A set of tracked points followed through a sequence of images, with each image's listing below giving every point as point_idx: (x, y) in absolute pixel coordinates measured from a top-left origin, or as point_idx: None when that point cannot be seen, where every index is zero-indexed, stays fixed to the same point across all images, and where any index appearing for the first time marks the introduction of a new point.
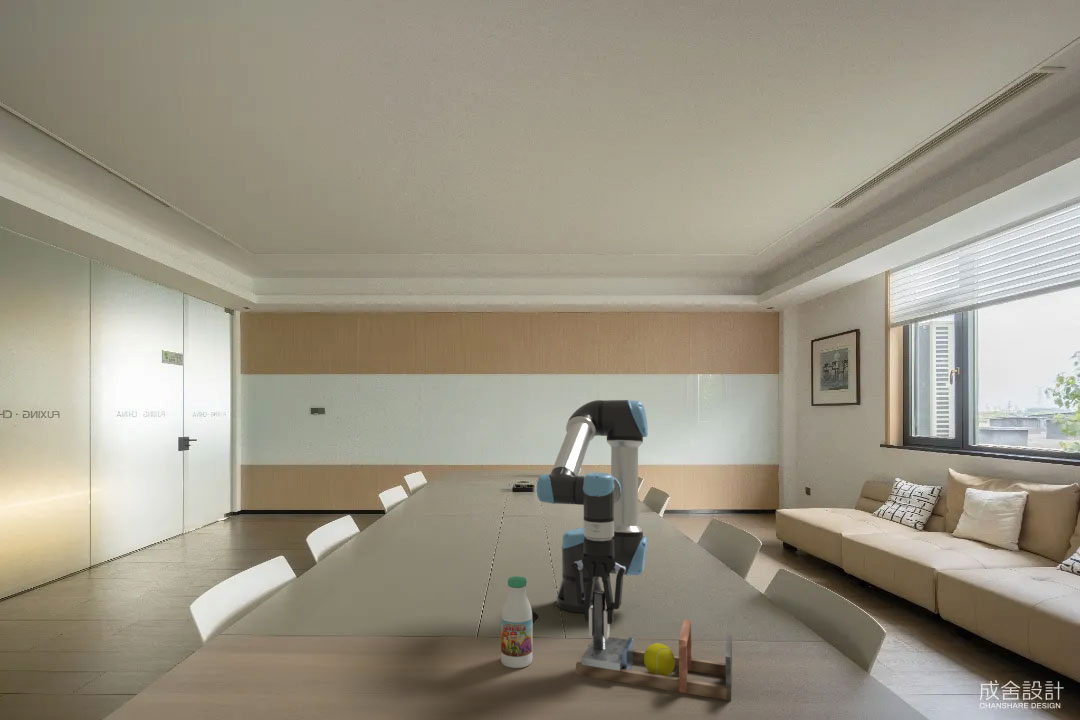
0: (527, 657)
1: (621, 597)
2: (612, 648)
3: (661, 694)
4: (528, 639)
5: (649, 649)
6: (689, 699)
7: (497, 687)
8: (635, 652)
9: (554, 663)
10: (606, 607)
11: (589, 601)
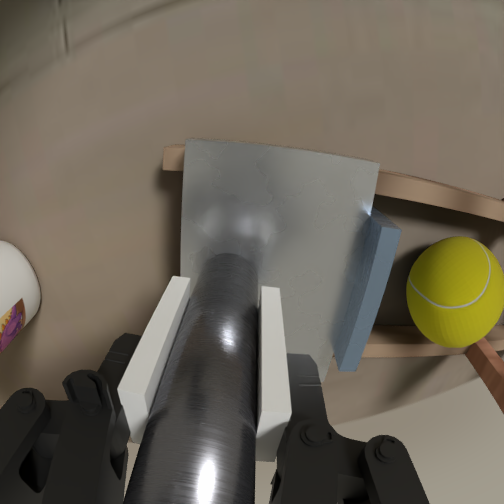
0: (29, 315)
1: (423, 498)
2: (291, 278)
3: (413, 358)
4: (2, 341)
5: (443, 331)
6: (461, 356)
7: (51, 384)
8: (383, 194)
9: (88, 265)
10: (263, 414)
11: (122, 486)
